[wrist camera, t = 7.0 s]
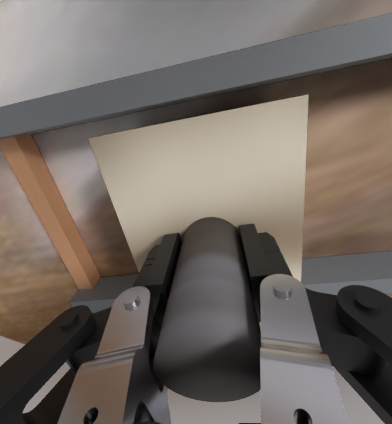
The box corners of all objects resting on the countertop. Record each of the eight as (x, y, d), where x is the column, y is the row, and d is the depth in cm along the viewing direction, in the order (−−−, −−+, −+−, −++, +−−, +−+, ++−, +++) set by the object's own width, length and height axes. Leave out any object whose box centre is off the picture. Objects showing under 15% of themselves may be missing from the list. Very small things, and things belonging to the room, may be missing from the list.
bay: (3, 116, 15) (-87, 118, 11) (687, -43, 10) (1101, -178, 5) (93, 289, 22) (62, 334, 18) (517, 254, 17) (628, 306, 12)
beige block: (134, 128, 14) (-102, 178, 4) (269, 101, 13) (534, 51, 2) (173, 264, 19) (123, 457, 9) (273, 255, 18) (363, 468, 7)
